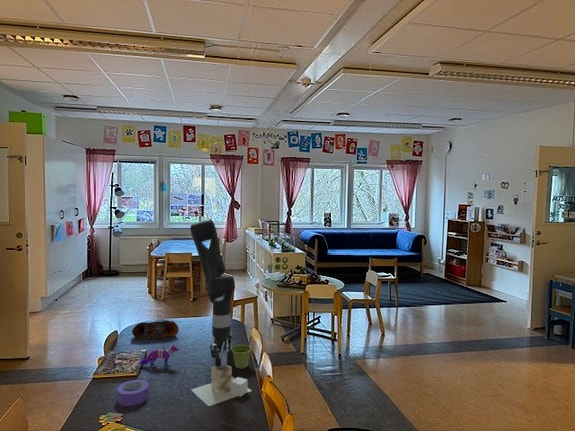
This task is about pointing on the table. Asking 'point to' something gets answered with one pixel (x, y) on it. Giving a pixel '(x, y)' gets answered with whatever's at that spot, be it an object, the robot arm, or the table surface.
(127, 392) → the tape roll
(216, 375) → the tower top
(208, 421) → the table surface
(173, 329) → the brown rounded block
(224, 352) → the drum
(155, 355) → the toy dog
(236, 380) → the block
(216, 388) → the tower base
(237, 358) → the plant pot
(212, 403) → the mat
